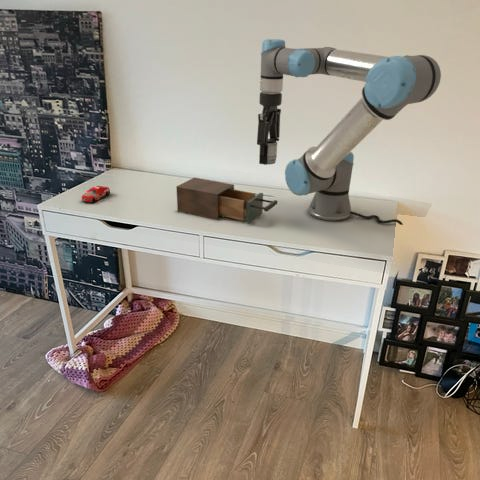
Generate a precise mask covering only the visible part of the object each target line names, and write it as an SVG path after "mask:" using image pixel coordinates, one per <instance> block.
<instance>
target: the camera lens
mask: <svg viewBox="0 0 480 480" xmlns="http://www.w3.org/2000/svg"><path fill="white" fill-rule="evenodd" d="M267 145H268V154H267V165H275V164H276V162H277V155H278V141H275V140H273V139H270V138H268V140H267ZM258 158H259V159H260V148H259V153H258ZM259 159H258V160H259Z"/></svg>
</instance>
